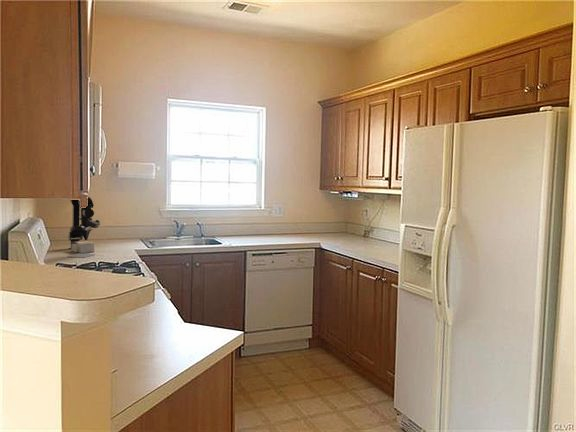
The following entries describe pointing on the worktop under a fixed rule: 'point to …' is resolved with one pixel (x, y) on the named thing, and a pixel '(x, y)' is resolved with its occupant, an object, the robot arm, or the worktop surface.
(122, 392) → the worktop surface
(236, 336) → the worktop surface
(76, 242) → the coffee box
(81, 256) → the mat
